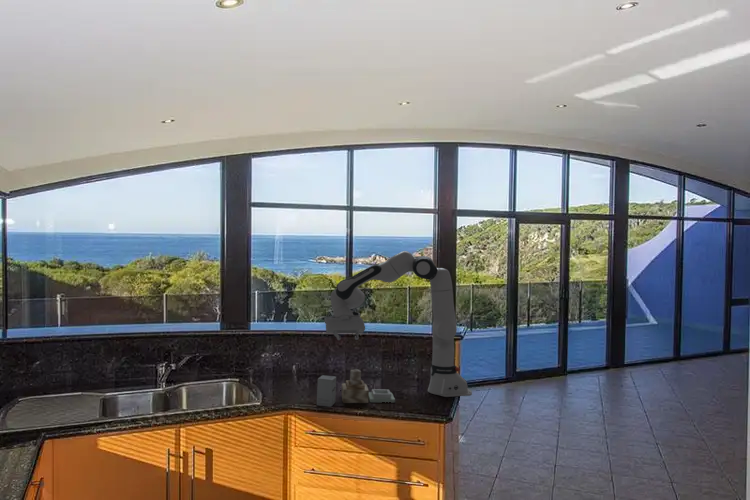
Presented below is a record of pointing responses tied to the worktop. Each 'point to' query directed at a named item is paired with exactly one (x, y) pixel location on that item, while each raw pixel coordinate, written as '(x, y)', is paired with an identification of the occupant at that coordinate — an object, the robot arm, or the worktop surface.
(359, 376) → the cream plug block
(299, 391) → the worktop surface
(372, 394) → the sage socket plate
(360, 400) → the birch stand
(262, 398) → the worktop surface
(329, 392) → the supplement box
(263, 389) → the worktop surface
